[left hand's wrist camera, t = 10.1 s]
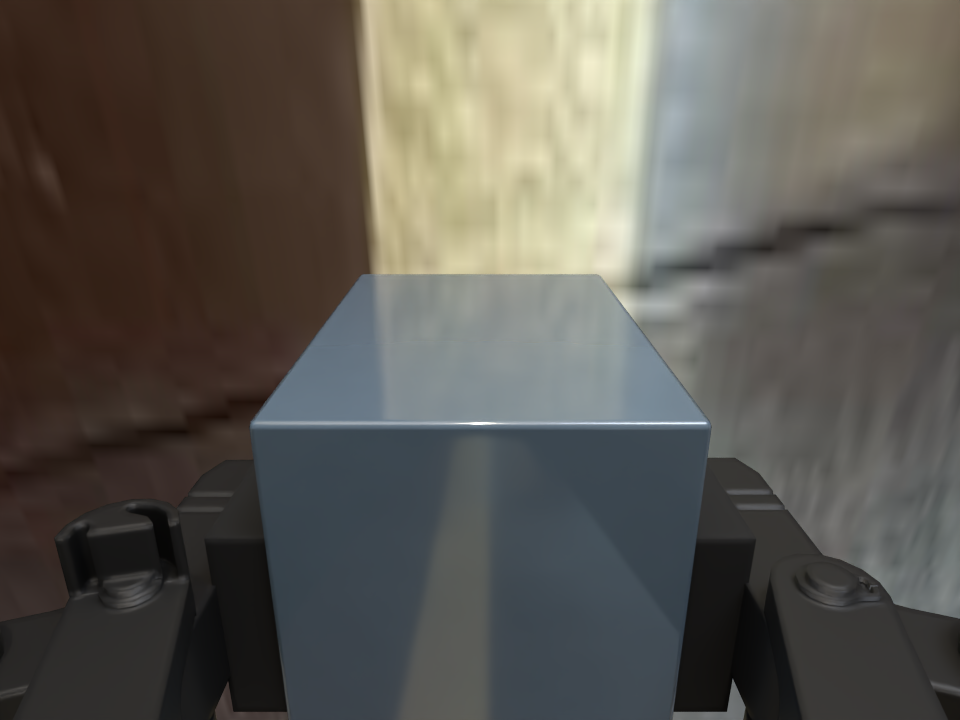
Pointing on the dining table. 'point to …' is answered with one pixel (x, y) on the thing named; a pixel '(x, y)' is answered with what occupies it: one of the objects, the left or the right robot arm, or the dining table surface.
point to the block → (480, 505)
